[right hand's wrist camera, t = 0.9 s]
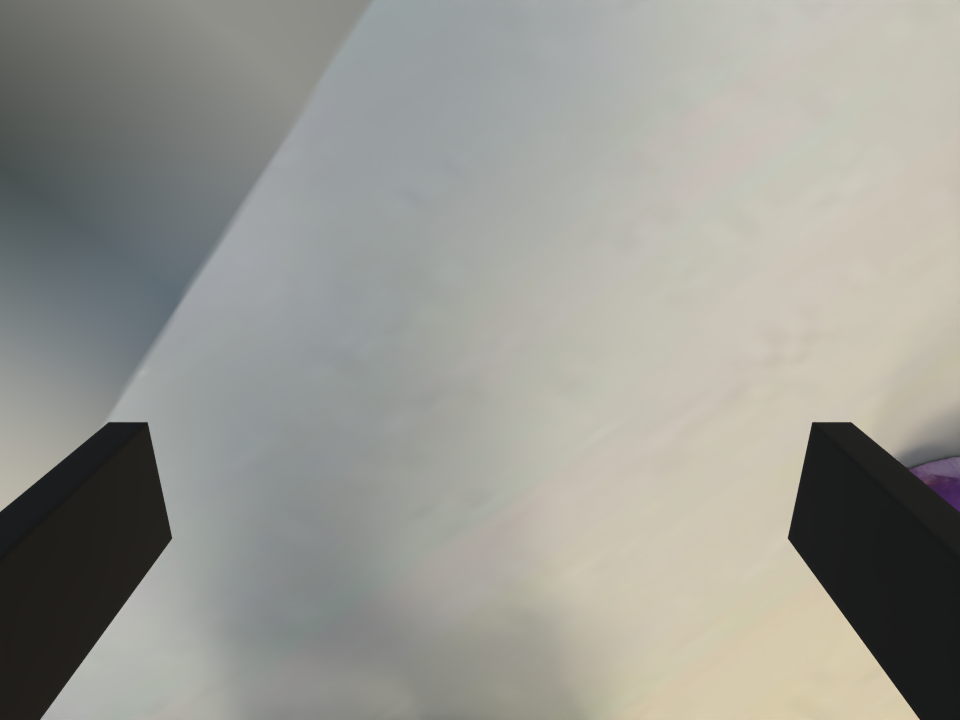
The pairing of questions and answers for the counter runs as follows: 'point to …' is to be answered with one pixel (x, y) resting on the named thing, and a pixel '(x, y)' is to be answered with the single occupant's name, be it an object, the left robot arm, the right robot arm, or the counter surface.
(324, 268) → the counter surface
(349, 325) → the counter surface
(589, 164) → the counter surface
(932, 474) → the figurine
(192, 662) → the counter surface
